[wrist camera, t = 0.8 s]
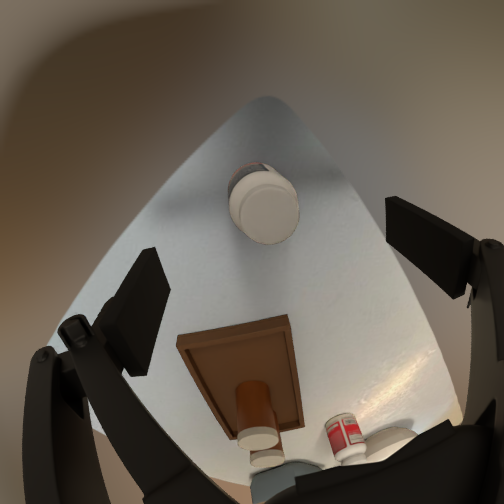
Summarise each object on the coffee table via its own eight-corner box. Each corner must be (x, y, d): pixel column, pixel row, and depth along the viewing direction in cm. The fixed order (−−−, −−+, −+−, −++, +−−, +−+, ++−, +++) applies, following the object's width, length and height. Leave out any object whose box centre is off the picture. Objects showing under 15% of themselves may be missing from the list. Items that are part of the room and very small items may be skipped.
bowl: (352, 460, 59) (360, 484, 51) (338, 443, 51) (348, 473, 43) (412, 431, 56) (423, 454, 48) (412, 407, 49) (427, 435, 41)
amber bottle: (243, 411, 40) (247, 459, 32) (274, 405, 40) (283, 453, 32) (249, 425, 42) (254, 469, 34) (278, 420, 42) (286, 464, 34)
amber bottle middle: (230, 383, 37) (233, 437, 28) (266, 376, 37) (276, 431, 28) (239, 402, 39) (242, 452, 31) (272, 396, 39) (281, 446, 30)
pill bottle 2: (326, 431, 47) (339, 475, 37) (322, 419, 45) (337, 467, 35) (355, 421, 47) (370, 463, 37) (353, 408, 44) (371, 454, 34)
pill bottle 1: (219, 203, 27) (216, 237, 19) (241, 153, 25) (247, 164, 17) (269, 223, 28) (287, 263, 20) (292, 175, 26) (321, 197, 18)
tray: (177, 335, 33) (175, 346, 31) (286, 314, 33) (290, 324, 31) (229, 431, 44) (229, 440, 42) (302, 418, 44) (304, 427, 42)
